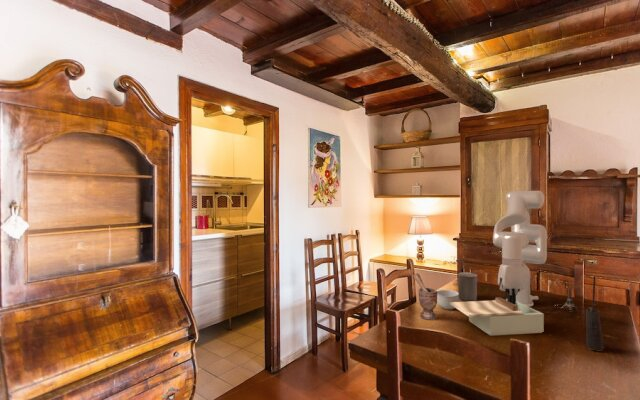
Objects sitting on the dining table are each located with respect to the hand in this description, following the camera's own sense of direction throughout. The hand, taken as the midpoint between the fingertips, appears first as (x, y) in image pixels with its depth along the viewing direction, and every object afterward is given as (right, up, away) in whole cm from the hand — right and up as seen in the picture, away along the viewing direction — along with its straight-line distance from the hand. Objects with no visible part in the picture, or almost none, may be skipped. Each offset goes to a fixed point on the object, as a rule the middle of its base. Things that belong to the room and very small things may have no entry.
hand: (511, 303), depth 149 cm
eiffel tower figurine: (+42, -10, +22) cm, 49 cm away
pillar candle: (-2, -10, +39) cm, 41 cm away
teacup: (-19, -10, +26) cm, 34 cm away
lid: (-12, -2, -1) cm, 13 cm away
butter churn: (+19, -11, -21) cm, 30 cm away
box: (-3, -10, 0) cm, 11 cm away
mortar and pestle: (-35, -10, +13) cm, 38 cm away
